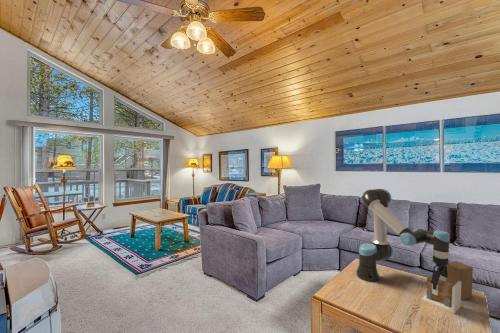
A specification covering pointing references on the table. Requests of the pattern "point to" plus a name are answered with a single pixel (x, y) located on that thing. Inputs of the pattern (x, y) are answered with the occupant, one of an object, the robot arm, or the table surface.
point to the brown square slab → (441, 290)
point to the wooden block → (460, 277)
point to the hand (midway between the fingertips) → (438, 290)
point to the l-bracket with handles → (446, 299)
